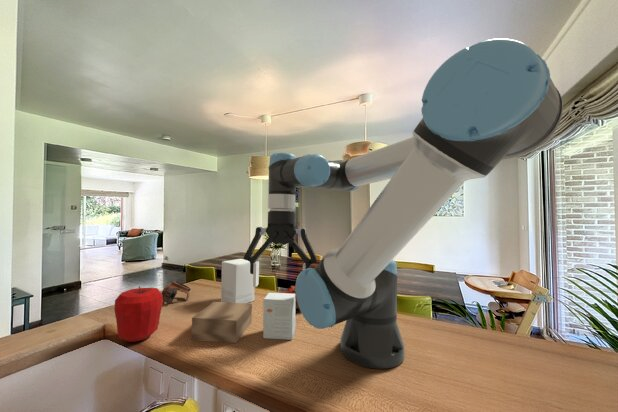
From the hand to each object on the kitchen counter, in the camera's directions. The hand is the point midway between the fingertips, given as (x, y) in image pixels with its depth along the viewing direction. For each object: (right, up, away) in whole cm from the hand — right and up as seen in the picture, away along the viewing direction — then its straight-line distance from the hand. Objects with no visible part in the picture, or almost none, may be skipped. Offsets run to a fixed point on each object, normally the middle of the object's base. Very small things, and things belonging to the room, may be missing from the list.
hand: (279, 287), depth 70 cm
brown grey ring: (-42, -13, +23) cm, 49 cm away
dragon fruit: (+3, -14, +18) cm, 23 cm away
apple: (-37, -12, -4) cm, 39 cm away
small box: (0, -13, -1) cm, 13 cm away
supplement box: (-18, -13, +25) cm, 33 cm away
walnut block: (-16, -13, +1) cm, 20 cm away
